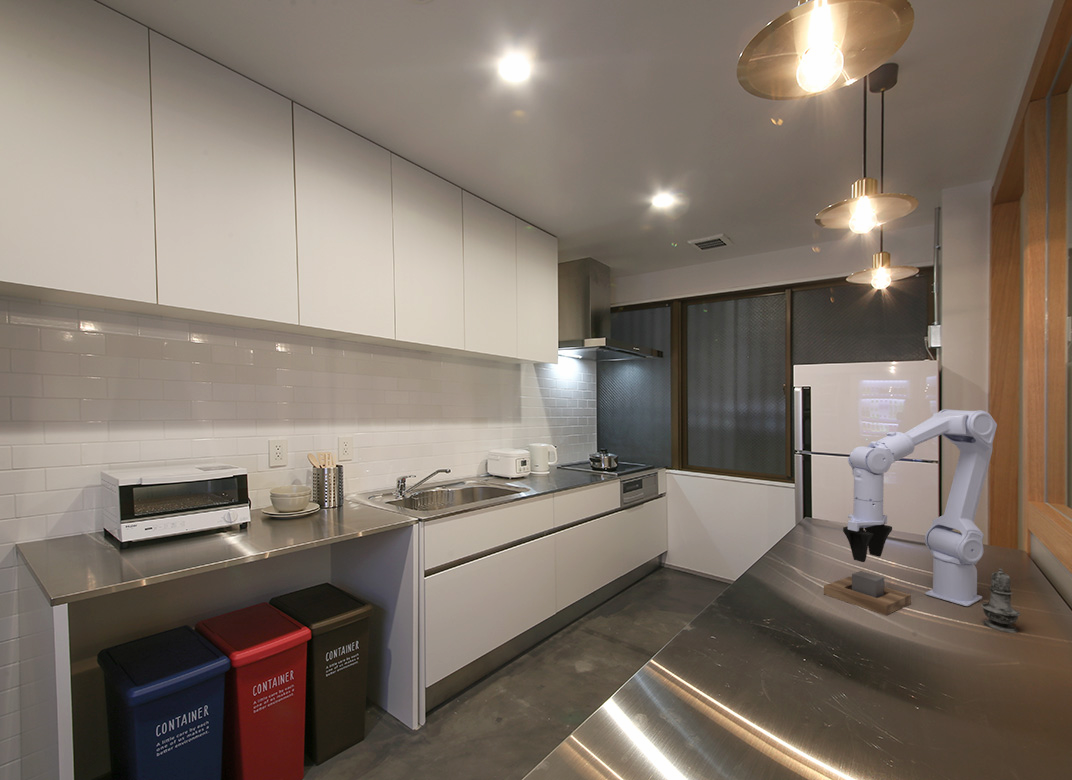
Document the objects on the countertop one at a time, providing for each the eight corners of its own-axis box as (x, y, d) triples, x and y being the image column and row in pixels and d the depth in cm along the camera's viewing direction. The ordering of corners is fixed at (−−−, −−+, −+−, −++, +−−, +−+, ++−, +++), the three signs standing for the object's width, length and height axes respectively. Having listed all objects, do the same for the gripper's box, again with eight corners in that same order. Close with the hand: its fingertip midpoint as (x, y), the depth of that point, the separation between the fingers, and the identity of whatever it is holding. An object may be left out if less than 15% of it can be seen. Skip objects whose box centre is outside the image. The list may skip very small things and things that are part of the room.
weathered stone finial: (1028, 635, 99) (1028, 574, 99) (993, 631, 100) (994, 571, 100) (1006, 621, 104) (1007, 564, 105) (974, 618, 106) (974, 562, 106)
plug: (860, 594, 118) (860, 570, 118) (883, 601, 114) (884, 577, 114) (851, 597, 116) (852, 573, 116) (875, 605, 112) (875, 580, 112)
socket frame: (849, 584, 124) (849, 576, 124) (910, 603, 113) (910, 594, 113) (823, 594, 117) (823, 585, 117) (886, 615, 106) (886, 606, 106)
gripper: (864, 493, 122) (863, 548, 122) (833, 498, 115) (833, 558, 114) (897, 498, 116) (896, 556, 116) (867, 504, 109) (866, 567, 108)
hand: (867, 558), depth 115 cm, fingers open, 7 cm apart
